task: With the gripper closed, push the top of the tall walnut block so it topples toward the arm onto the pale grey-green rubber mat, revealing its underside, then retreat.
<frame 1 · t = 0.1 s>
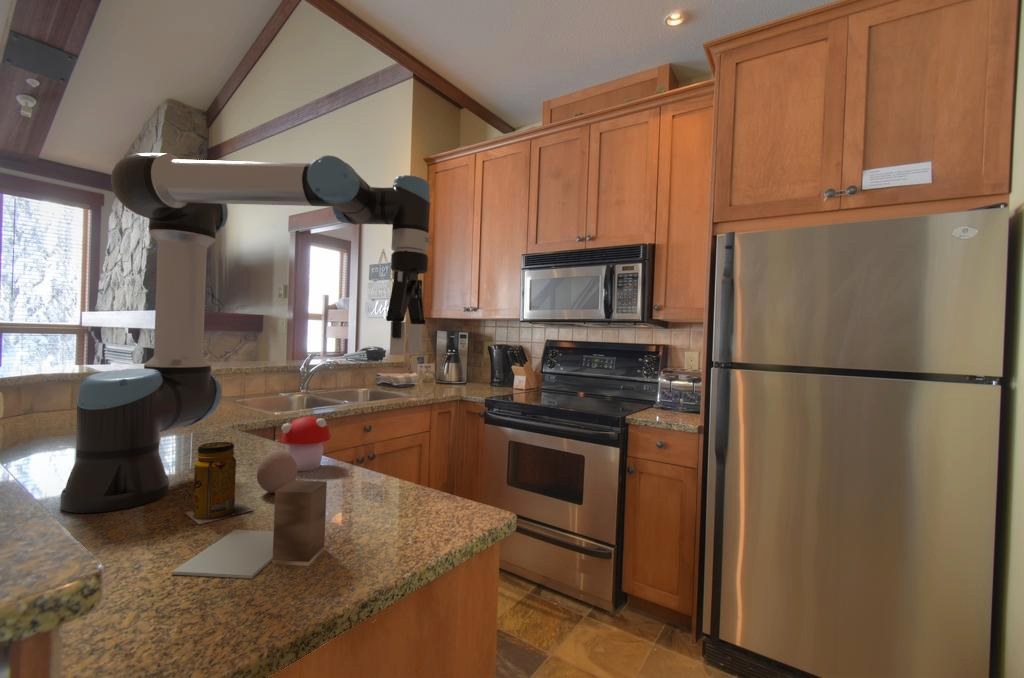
hand: (406, 354, 97), 28 cm above the counter, fingers open, 13 cm apart
condiment: (220, 513, 80), on the counter
egg: (276, 493, 91), on the counter
mushroom: (305, 467, 109), on the counter
block: (299, 556, 66), on the counter
mat: (242, 553, 66), on the counter
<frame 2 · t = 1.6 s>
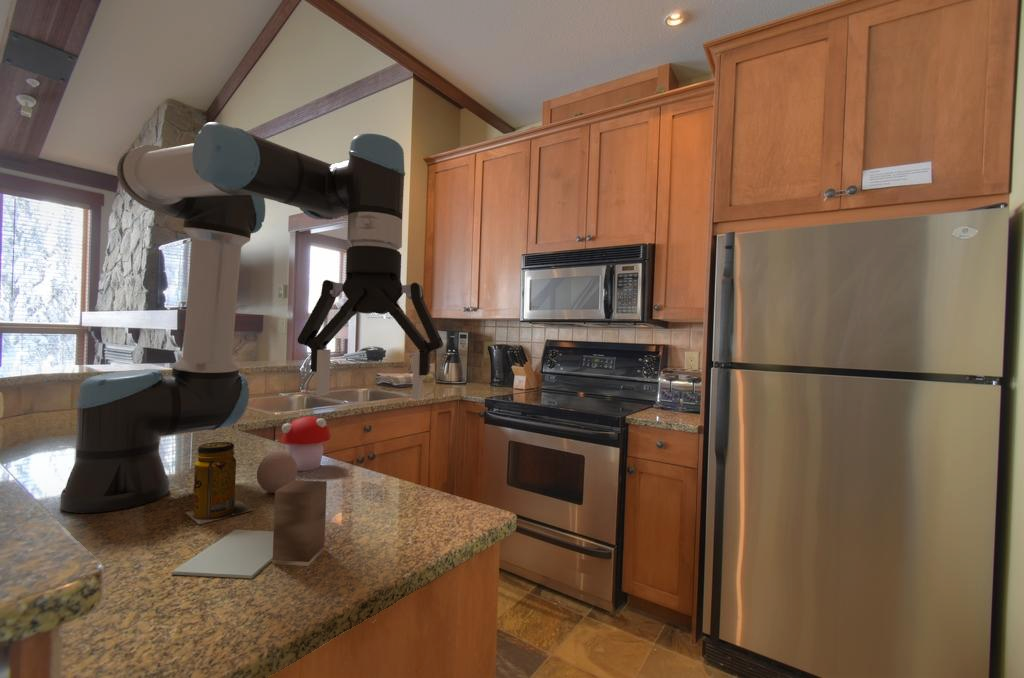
hand: (369, 397, 66), 23 cm above the counter, fingers open, 13 cm apart
nothing on the counter moved.
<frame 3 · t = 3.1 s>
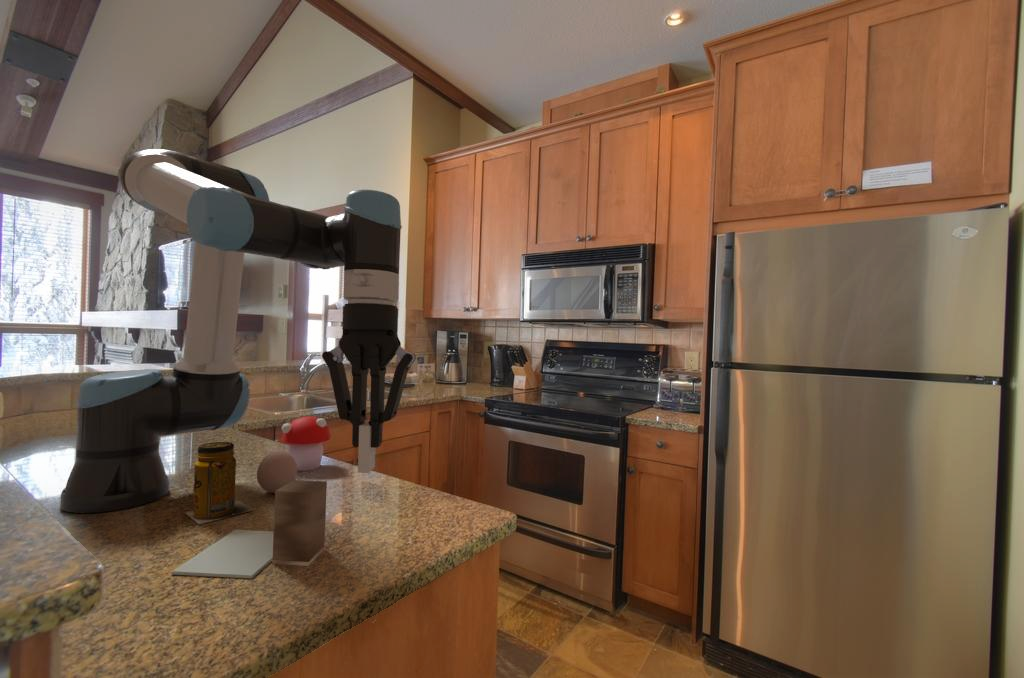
hand: (366, 469, 65), 13 cm above the counter, fingers closed
nothing on the counter moved.
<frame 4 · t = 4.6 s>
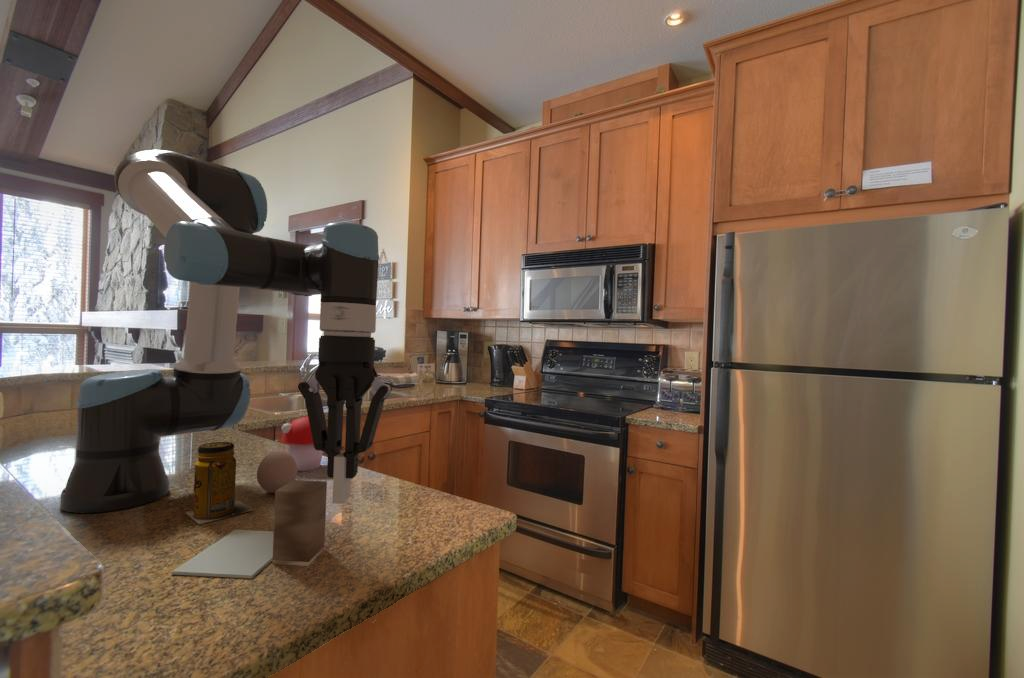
hand: (341, 499, 65), 8 cm above the counter, fingers closed
nothing on the counter moved.
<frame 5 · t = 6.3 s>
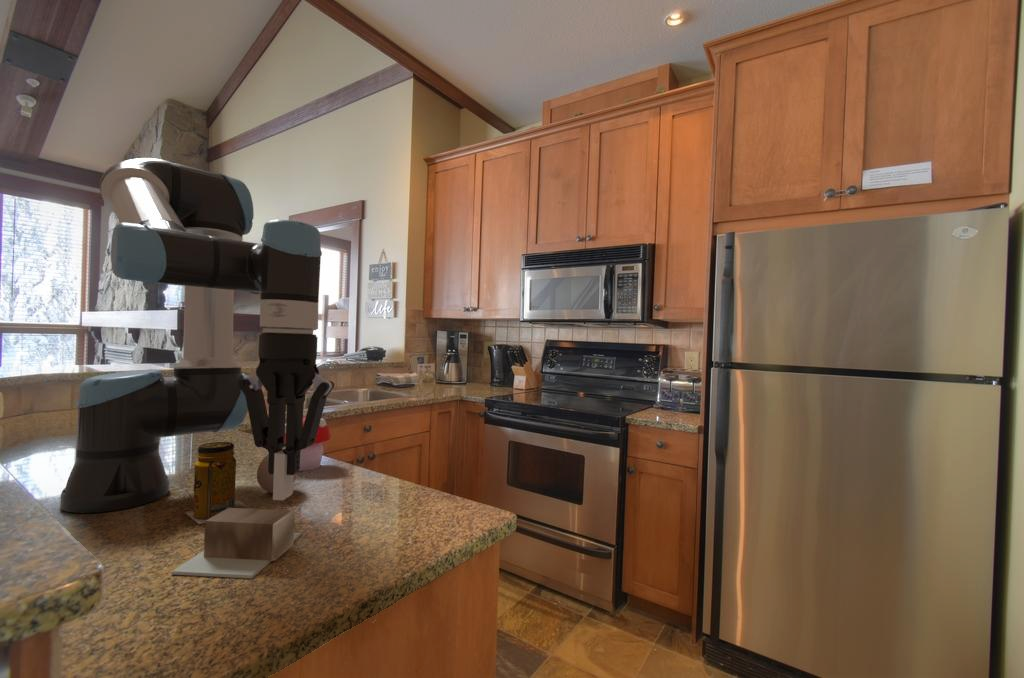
hand: (283, 496, 66), 8 cm above the counter, fingers closed
block: (285, 534, 66), point 3 cm above the counter, tilted 90°, touching mat
everything else where it was.
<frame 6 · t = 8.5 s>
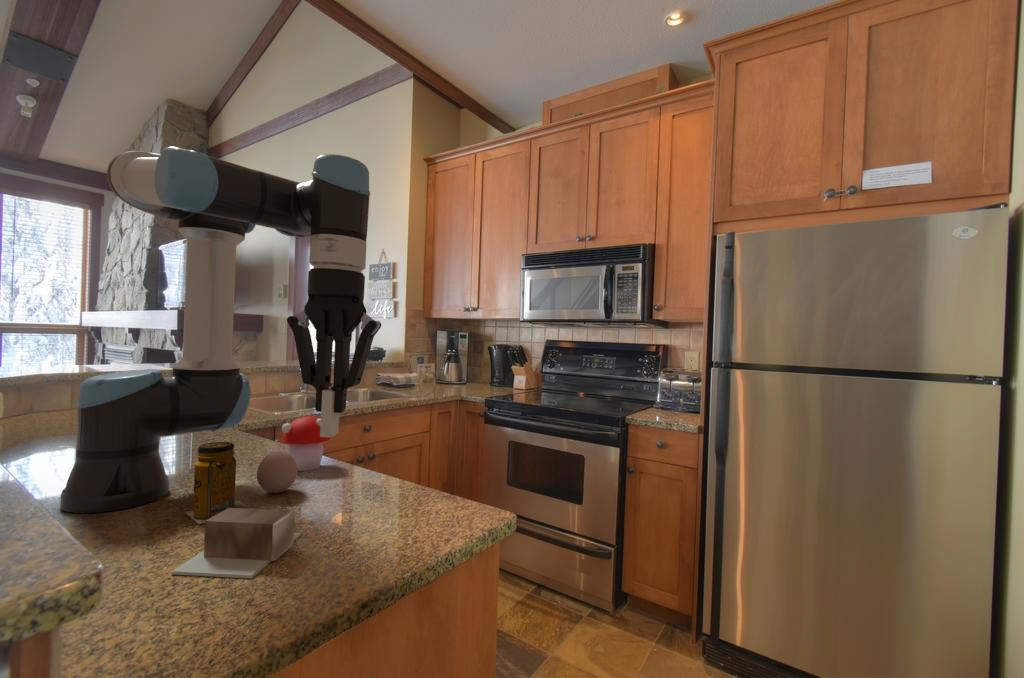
hand: (329, 434, 66), 17 cm above the counter, fingers closed
nothing on the counter moved.
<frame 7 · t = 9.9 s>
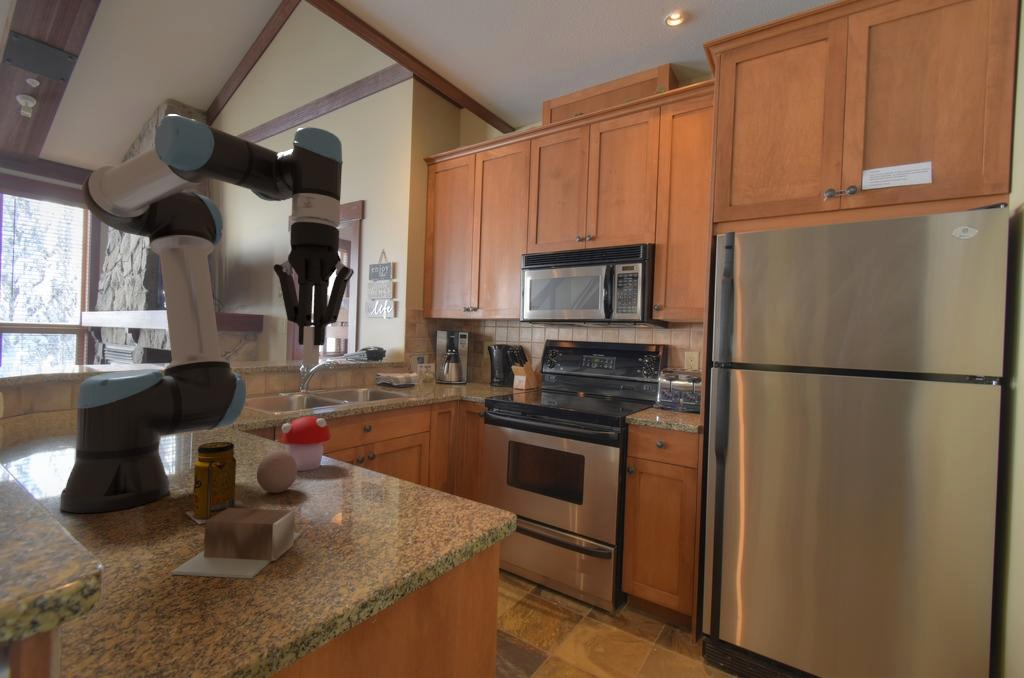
hand: (310, 364, 78), 26 cm above the counter, fingers closed
nothing on the counter moved.
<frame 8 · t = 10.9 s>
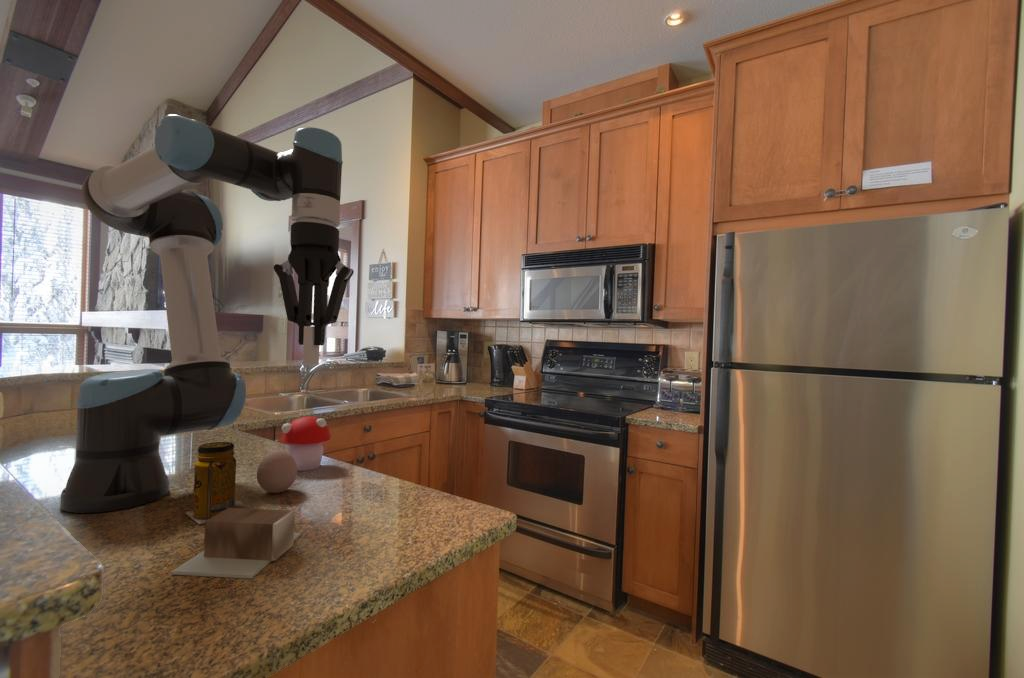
hand: (310, 364, 78), 26 cm above the counter, fingers closed
nothing on the counter moved.
at the end: block tilted 90°; block inside the target area (0.9 cm from its centre), point 2.9 cm above the counter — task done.
